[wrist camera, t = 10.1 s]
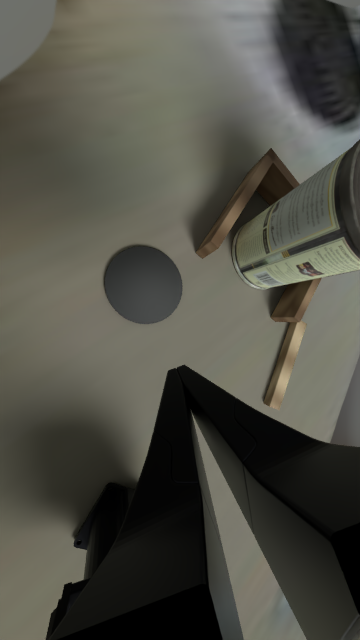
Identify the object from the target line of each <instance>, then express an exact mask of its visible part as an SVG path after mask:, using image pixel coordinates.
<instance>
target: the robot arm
mask: <svg viewBox="0 0 360 640" xmlns="http://www.w3.org/2000/svg"><path fill="white" fill-rule="evenodd" d="M190 409H191V410H190ZM191 412H192V413H191ZM192 414H193V416H194V418H195V420H196V422H197V424H198V426H199V428H200V430H201V432H202V434H203V436H204V438H205V440H206V442H207V444H208V446H209V448H210V450H211V452H212V454H213V456H214V458H215V460H216V462H217V464H218V465H219V467H220V469H221V471H222V473H223V475H224V477H225V479H226V481H227V483H228V485H229V487H230V489H231V491H232V493H233V495H234V497H235V499H236V501H237V503H238V505H239V507H240V509H241V511H242V513H243V515H244V517H245V519H246V521H247V522H248V524H249V526H250V528H251V530H252V532H253V534H254V535H255V538H256V540H257V542H258V544H259V546H260V548H261V550H262V552H263V554H264V556H265V558H266V560H267V562H268V564H269V566H270V568H271V570H272V572H273V574H274V576H275V578H276V580H277V582H278V584H279V585H280V587H281V589H282V591H283V593H284V595H285V597H286V599H287V601H288V603H289V605H290V607H291V609H292V611H293V613H294V615H295V617H296V619H297V621H298V623H299V625H300V627H301V629H302V631H303V633H304V635H305V637H306V639H307V640H360V447H354V446H344V445H336V444H330V443H326V442H322V441H319V440H316V439H314V438H311V437H309V436H307V435H305V434H303V433H301V432H299V431H297V430H295V429H293V428H291V427H289V426H287V425H285V424H283V423H281V422H279V421H277V420H275V419H273V418H271V417H269V416H267V415H265V414H263V413H261V412H259V411H257V410H255V409H254V408H252V407H250V406H249V405H247V404H245V403H244V402H242V401H241V400H239V399H238V398H236V397H234V396H233V395H231V394H230V393H228V392H226V391H225V390H223V389H222V388H220V387H219V386H217V385H215V384H214V383H212V382H211V381H209V380H208V379H206V378H205V377H203V376H201V375H200V374H198V373H197V372H195V371H194V370H192V369H190V368H189V367H187V366H186V365H182V366H179V367H177V369H176V368H174V369H171V370H169V371H168V373H167V377H166V381H165V385H164V389H163V393H162V398H161V402H160V406H159V410H158V414H157V418H156V422H155V427H154V432H153V435H152V439H151V443H150V446H149V450H148V454H147V457H146V460H145V463H144V466H143V469H142V472H141V475H140V478H139V480H138V483H137V486H136V489H135V490H133V489H130V488H126V487H123V486H120V485H117V484H114V483H109V484H107V485H106V487H105V489H104V490H103V492H102V494H101V495H100V497H99V499H98V500H97V502H96V504H95V505H94V507H93V509H92V510H91V512H90V514H89V515H88V517H87V519H86V520H85V522H84V524H83V525H82V527H81V529H80V530H79V532H78V534H77V535H76V537H75V540H74V547H76V548H81V549H85V550H87V555H86V563H85V572H84V580H82V581H79V582H76V583H73V584H72V582H71V583H68V584H65V585H64V589H63V594H62V598H61V599H59V601H58V605H57V608H56V609H55V610H54V611H53V612H52V613H51V617H50V622H49V627H48V632H47V636H46V640H244V639H243V634H242V630H241V626H240V621H239V617H238V612H237V608H236V604H235V599H234V595H233V591H232V586H231V582H230V578H229V573H228V569H227V564H226V560H225V556H224V552H223V547H222V543H221V538H220V534H219V530H218V525H217V521H216V517H215V512H214V508H213V503H212V499H211V495H210V490H209V486H208V482H207V477H206V473H205V469H204V464H203V460H202V456H201V451H200V447H199V442H198V438H197V434H196V429H195V425H194V421H193V417H192ZM109 488H112V489H110V490H108V489H109ZM79 540H80V541H79Z"/></svg>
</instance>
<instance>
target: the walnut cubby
mask: <svg viewBox="0 0 360 640" xmlns="http://www.w3.org/2000/svg"><path fill="white" fill-rule="evenodd" d="M299 185H300V184H299V183H298V182H297V180H296V179H295V178H294V176H293V175H292V174H291V173H290V171H289V170H288V169H287V168H286V166H285V165H284V164H283V162H282V161H281V160H280V159H279V157H278V156H277V155H276V154H275V152H274V151H273V150H272V148H271V149H270V150H269V151H268V152H267V153H266V154H265V155H264V156H263V157H262V158H261V159H260V160H259V161H258V163H257V164H256V165H255V166H254V167H253V168H252V169H251V170H250V171H249V172H248V174H247V175H246V177H245V178H244V180H243V182H242V183H241V185H240V186H239V188H238V189H237V191H236V192H235V194H234V195H233V197H232V198H231V200H230V201H229V203H228V204H227V206H226V207H225V209H224V210H223V212H222V213H221V215H220V216H219V218H218V220H217V221H216V223H215V224H214V226H213V227H212V229H211V230H210V232H209V233H208V235H207V236H206V238H205V239H204V241H203V242H202V244H201V245H200V247H199V248H198V250H197V251H196V254H198V255H199V256H200V257H201V258H202V259H203V258H204V257H206V256H207V255H209V254H210V253H212V252H213V251H215V250H216V249H218V248H219V247H220V245H221V244H222V242H223V240H224V239H225V237H226V236H227V234H228V233H229V231H230V229H231V228H232V226H233V225H234V223H235V221H236V220H237V218H238V217H239V215H240V214H241V212H242V210H243V209H244V207H245V206H246V204H247V203H248V201H249V199H250V198H251V196H252V195H253V193H254V191H255V190H257V191H258V193H259V194H260V195H261V196H262V197H263V198H264V199H265V200H266V202H267V203H268V204H269V205H270V206H271V205H273V204H274V203H275V202H277V201H278V200H279V199H281V198H282V197H284V196H285V195H286V194H288V193H289V192H291V191H292V190H293V189H295V188H296V187H298V186H299ZM320 280H321V278H317V279H312V280H307V281H301V282H297V283H292V284H288V285H287V287H286V289H285V291H284V293H283V295H282V297H281V299H280V301H279V303H278V304H277V306H276V308H275V310H274V312H273V314H272V316H271V318H272V319H273V320H274V321H275V322H300V321H301V319H302V317H303V315H304V313H305V311H306V309H307V307H308V305H309V303H310V301H311V299H312V297H313V295H314V292H315V290H316V288H317V286H318V284H319V282H320Z"/></svg>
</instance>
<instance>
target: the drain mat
mask: <svg viewBox="0 0 360 640" xmlns="http://www.w3.org/2000/svg"><path fill="white" fill-rule="evenodd" d="M105 290H106V294H107V297H108V299H109V302H110V303H111V305H112V307H113V308H114V309H115V310H116V311H117V312H118V313H119V314H120V315H121V316H123V317H124V318H126V319H128V320H130V321H132V322H136V323H141V324H151V323H156V322H159V321H162V320H164V319H165V318H167V317H168V316H169V315H171V314H172V313H173V312H174V310H175V309H176V308H177V306H178V304H179V302H180V299H181V295H182V280H181V276H180V273H179V271H178V269H177V267H176V265H175V264H174V262H173V261H172V260H171V259H170V258H169V257H168V256H167V255H165V254H164V253H162V252H161V251H159V250H156V249H154V248H150V247H133V248H129V249H127V250H124V251H123V252H121V253H119V254H118V255H117V256H116V257H115V258H114V259H113V260H112V262H111V263H110V265H109V267H108V269H107V272H106V276H105Z"/></svg>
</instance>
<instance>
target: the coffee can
mask: <svg viewBox="0 0 360 640" xmlns="http://www.w3.org/2000/svg"><path fill="white" fill-rule="evenodd" d="M232 257H233V263H234V266H235V269H236V271H237V273H238V274H239V276H240V277H241V279H242V280H243V281H244V282H245V283H247V284H248V285H249V286H251V287H253V288H256V289H268V288H271V287H276V286H282V285H286V284H292V283H297V282H301V281H307V280H312V279H317V278H322V277H328V276H333V275H338V274H343V273H348V272H353V271H358V270H360V140H359V141H357V142H356V143H355V144H354V145H353V147H352V148H350V149H349V150H347V151H346V152H345V153H343V154H342V155H340V156H339V157H338V158H336V159H335V160H334V161H332V162H331V163H329V164H328V165H327V166H325V167H324V168H322V169H321V170H320V171H318V172H317V173H316V174H314V175H313V176H311V177H310V178H309V179H307V180H306V181H304V182H303V183H302V184H300V185H299V186H298V187H296V188H295V189H293V190H292V191H291V192H289V193H288V194H286V195H285V196H284V197H282V198H281V199H279V200H278V201H277V202H275V203H274V204H273V205H271V206H270V207H269V208H267V209H266V210H264V211H263V212H262V213H260V214H259V215H257V216H256V217H255V218H253V219H252V220H251V221H249V222H247V223H245V224H244V225H243V226H242V227H241V228H240V229H239V230H238V231H237V233H236V235H235V237H234V240H233V245H232Z"/></svg>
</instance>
